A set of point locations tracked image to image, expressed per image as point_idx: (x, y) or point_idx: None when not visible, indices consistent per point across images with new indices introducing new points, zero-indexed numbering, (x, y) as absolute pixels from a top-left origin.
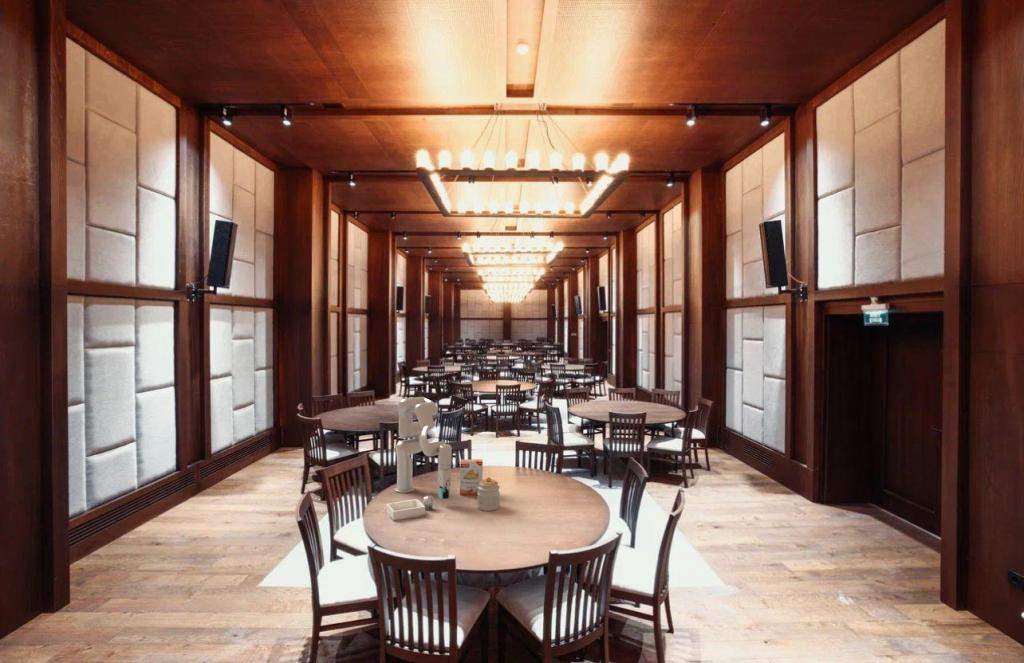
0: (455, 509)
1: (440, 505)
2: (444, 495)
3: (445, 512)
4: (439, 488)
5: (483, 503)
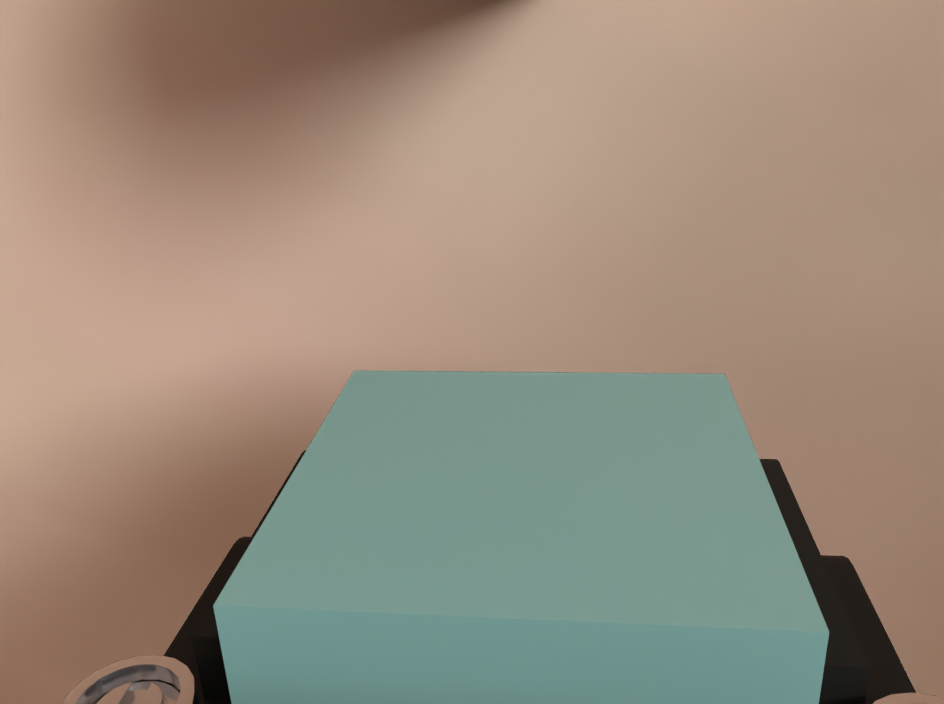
0: (172, 544)
1: (621, 318)
2: None
3: (24, 254)
4: (734, 660)
5: None
